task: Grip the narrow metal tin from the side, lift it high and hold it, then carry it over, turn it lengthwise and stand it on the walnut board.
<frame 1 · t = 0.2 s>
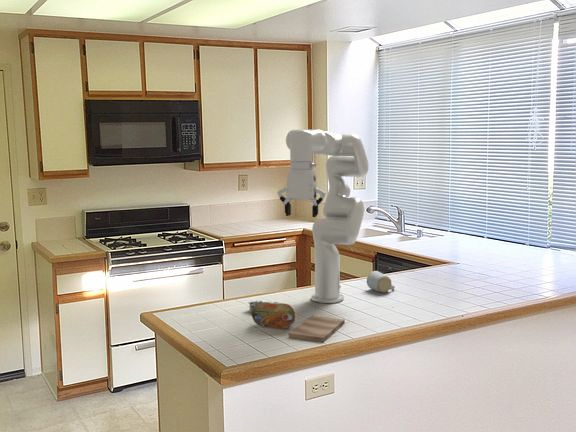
hand: (301, 216, 219), 36 cm above the counter, tool pointing down, fingers open, 9 cm apart
tin: (274, 327, 215), on the counter
egg carton: (263, 313, 232), on the counter
ceramic mug: (381, 291, 259), on the counter
walnut board: (317, 330, 211), on the counter
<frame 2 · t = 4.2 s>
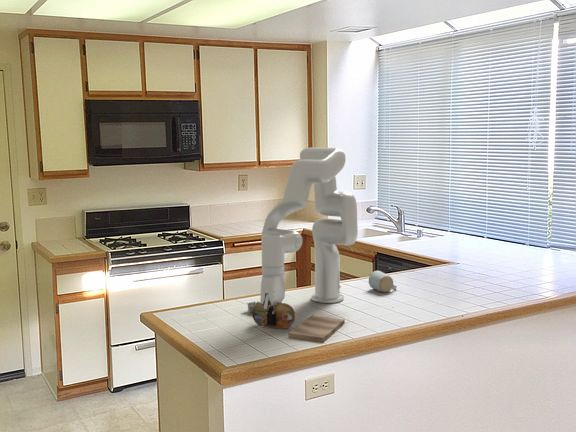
hand: (273, 323, 214), 1 cm above the counter, tool pointing down, fingers closed on tin, 2 cm apart
tin: (274, 326, 215), on the counter, touching gripper
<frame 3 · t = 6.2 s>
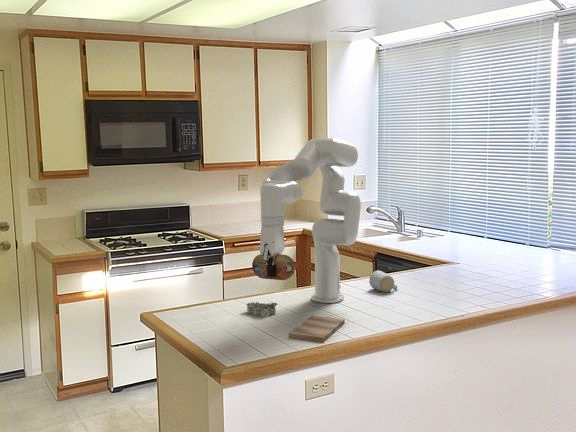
hand: (273, 274, 212), 18 cm above the counter, tool pointing down, fingers closed on tin, 2 cm apart
tin: (274, 278, 213), point 16 cm above the counter, touching gripper
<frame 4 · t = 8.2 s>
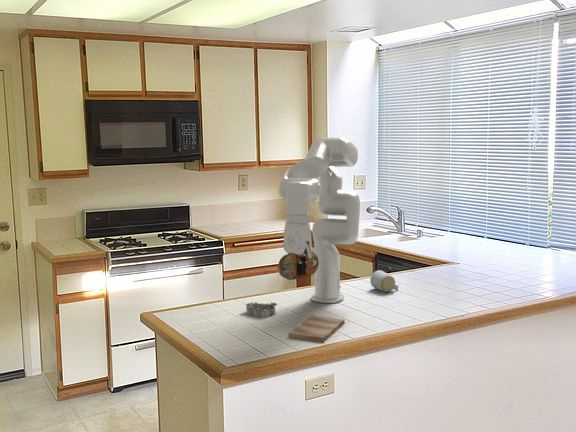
hand: (298, 273, 210), 19 cm above the counter, tool pointing down, fingers closed on tin, 2 cm apart
tin: (298, 277, 210), point 17 cm above the counter, touching gripper
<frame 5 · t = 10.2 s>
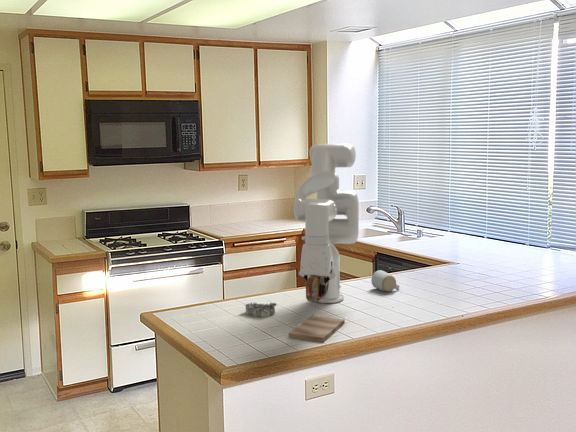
hand: (317, 295, 209), 12 cm above the counter, tool pointing down, fingers closed on tin, 2 cm apart
tin: (316, 299, 209), point 11 cm above the counter, touching gripper
when the fingers open (4 cm above the counter, at t = 12.2 s): tin drops 1 cm, resting on walnut board.
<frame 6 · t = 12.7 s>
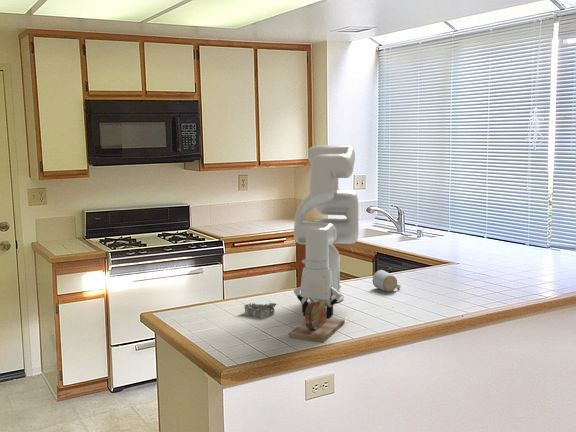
hand: (317, 315, 210), 5 cm above the counter, tool pointing down, fingers open, 7 cm apart
tin: (316, 326, 211), point 1 cm above the counter, touching walnut board
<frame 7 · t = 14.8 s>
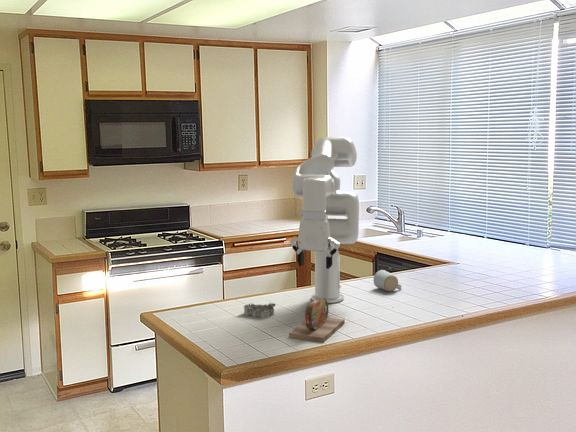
hand: (315, 266, 210), 21 cm above the counter, tool pointing down, fingers open, 9 cm apart
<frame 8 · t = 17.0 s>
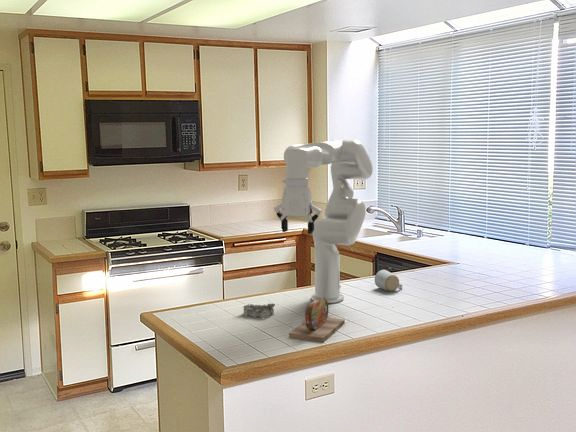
hand: (297, 232, 222), 30 cm above the counter, tool pointing down, fingers open, 9 cm apart
at the end: tin inside the target area on the walnut board (0.4 cm from its centre), point 1.3 cm above the walnut board's base; tin tilted 0°; the gripper is holding nothing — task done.
